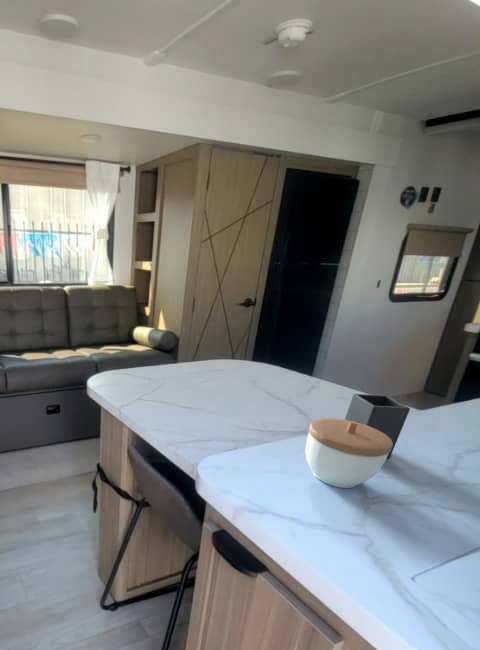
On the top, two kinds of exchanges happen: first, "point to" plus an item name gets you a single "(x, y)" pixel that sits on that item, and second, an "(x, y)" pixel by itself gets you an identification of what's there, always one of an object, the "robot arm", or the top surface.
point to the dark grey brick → (379, 414)
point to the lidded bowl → (345, 451)
